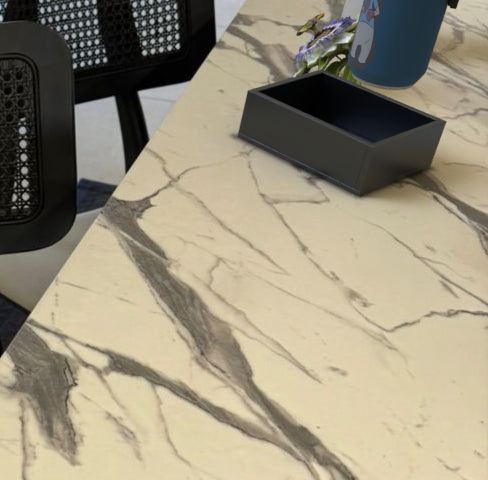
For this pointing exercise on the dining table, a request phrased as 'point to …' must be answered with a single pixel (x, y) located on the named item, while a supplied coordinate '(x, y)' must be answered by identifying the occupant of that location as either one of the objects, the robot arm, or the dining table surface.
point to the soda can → (395, 41)
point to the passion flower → (327, 47)
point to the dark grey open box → (340, 131)
